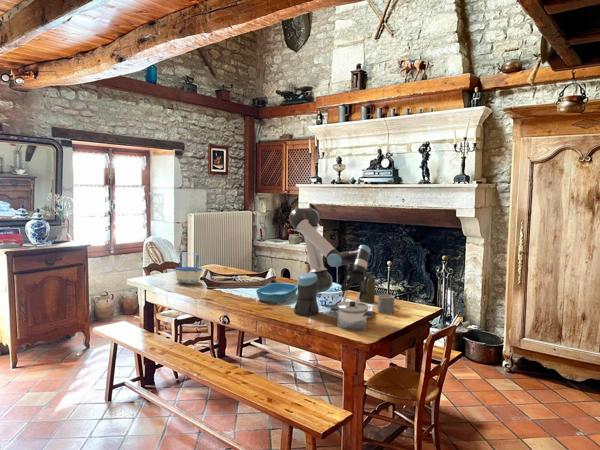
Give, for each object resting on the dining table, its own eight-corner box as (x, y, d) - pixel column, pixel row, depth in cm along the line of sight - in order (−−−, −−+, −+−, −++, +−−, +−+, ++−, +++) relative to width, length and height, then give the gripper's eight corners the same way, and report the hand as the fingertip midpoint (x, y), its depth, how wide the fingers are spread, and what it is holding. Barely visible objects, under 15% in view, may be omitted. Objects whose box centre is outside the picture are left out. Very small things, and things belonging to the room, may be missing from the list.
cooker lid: (332, 309, 226) (333, 303, 226) (342, 302, 242) (342, 296, 242) (363, 314, 220) (364, 307, 219) (371, 306, 236) (371, 300, 236)
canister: (374, 303, 283) (375, 274, 281) (358, 302, 285) (360, 273, 283) (374, 300, 293) (376, 271, 292) (359, 298, 295) (361, 270, 294)
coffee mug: (392, 314, 257) (393, 298, 256) (376, 312, 261) (376, 296, 260) (396, 309, 269) (396, 294, 269) (380, 307, 273) (381, 292, 272)
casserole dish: (281, 305, 271) (281, 294, 270) (250, 301, 279) (250, 290, 278) (301, 294, 305) (302, 284, 305) (274, 290, 313) (274, 281, 313)
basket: (204, 283, 331) (205, 253, 329) (187, 286, 318) (187, 255, 316) (188, 279, 344) (189, 250, 342) (171, 282, 331) (171, 252, 329)
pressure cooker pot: (326, 326, 229) (327, 308, 228) (336, 319, 243) (336, 302, 243) (369, 333, 220) (369, 314, 219) (375, 325, 234) (376, 307, 234)
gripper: (377, 274, 239) (369, 309, 225) (343, 270, 247) (334, 304, 233) (375, 266, 234) (367, 301, 220) (341, 263, 241) (331, 296, 228)
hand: (350, 302), depth 226 cm, fingers open, 7 cm apart
